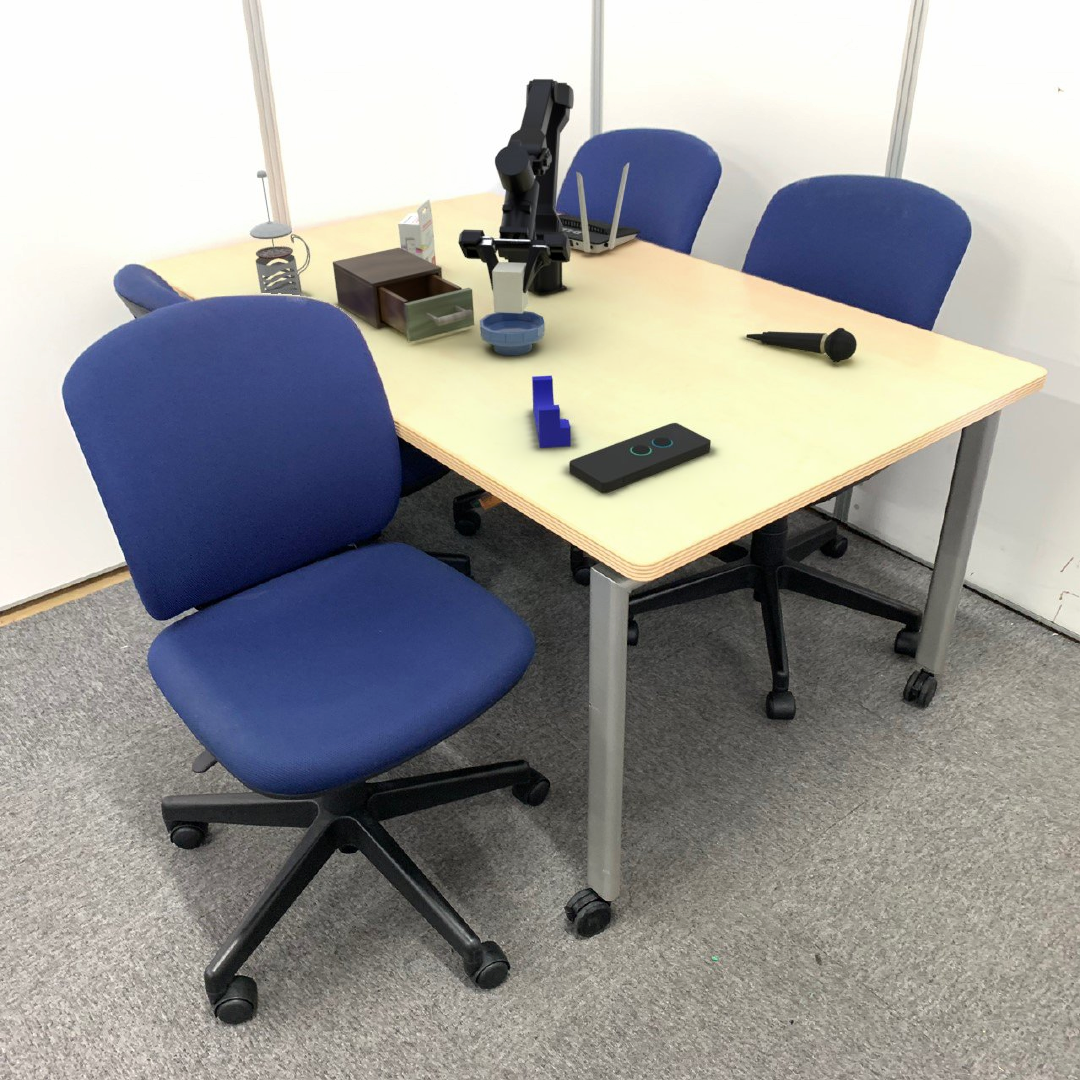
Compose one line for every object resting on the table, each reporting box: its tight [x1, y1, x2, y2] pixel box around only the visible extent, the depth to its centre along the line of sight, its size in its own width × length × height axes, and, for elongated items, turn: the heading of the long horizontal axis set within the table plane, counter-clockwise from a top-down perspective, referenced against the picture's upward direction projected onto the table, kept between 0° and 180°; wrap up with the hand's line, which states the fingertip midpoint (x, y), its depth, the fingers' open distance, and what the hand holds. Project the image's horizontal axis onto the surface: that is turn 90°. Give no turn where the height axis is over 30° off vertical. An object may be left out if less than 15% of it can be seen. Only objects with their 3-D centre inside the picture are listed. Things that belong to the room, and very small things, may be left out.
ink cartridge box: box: [397, 198, 437, 265], centre depth 213 cm, size 9×5×15 cm, turn 168°
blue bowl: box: [479, 310, 546, 356], centre depth 180 cm, size 11×11×5 cm
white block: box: [492, 261, 529, 313], centre depth 175 cm, size 5×5×7 cm
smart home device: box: [568, 422, 712, 494], centre depth 144 cm, size 8×2×20 cm
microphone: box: [745, 327, 858, 364], centre depth 176 cm, size 6×6×20 cm
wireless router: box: [557, 162, 642, 254], centre depth 228 cm, size 34×23×20 cm
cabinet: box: [332, 247, 443, 329], centre depth 198 cm, size 17×15×9 cm
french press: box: [249, 170, 311, 297], centre depth 199 cm, size 10×12×25 cm
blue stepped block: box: [531, 375, 572, 449], centre depth 152 cm, size 12×4×6 cm, turn 5°
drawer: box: [376, 274, 475, 343], centre depth 187 cm, size 21×13×7 cm, turn 35°
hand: (509, 291), depth 174 cm, fingers closed on white block, 5 cm apart
